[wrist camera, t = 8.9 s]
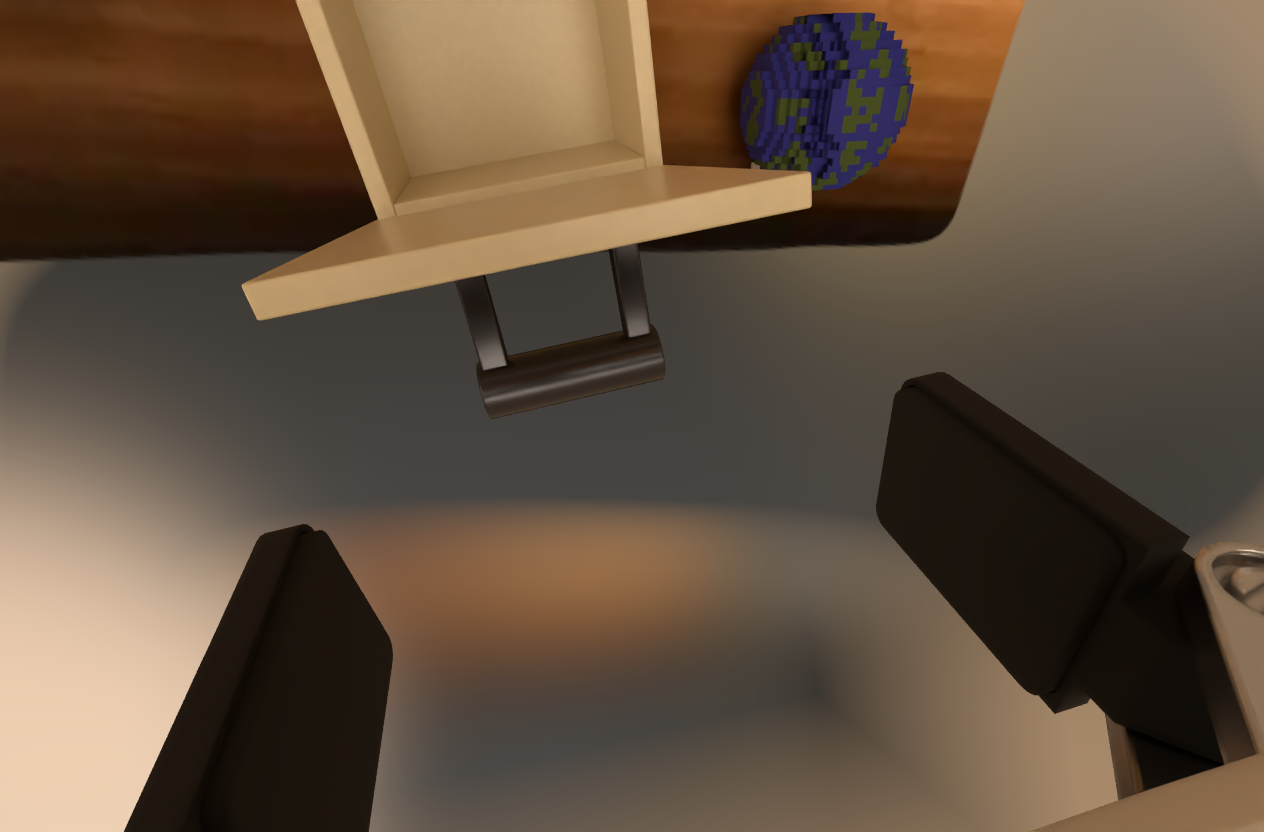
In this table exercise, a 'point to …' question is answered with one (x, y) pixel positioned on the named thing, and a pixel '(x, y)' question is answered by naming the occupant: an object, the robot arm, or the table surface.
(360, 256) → the wooden box lid
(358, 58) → the open storage bin
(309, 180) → the table surface
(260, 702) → the robot arm
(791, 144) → the ball
